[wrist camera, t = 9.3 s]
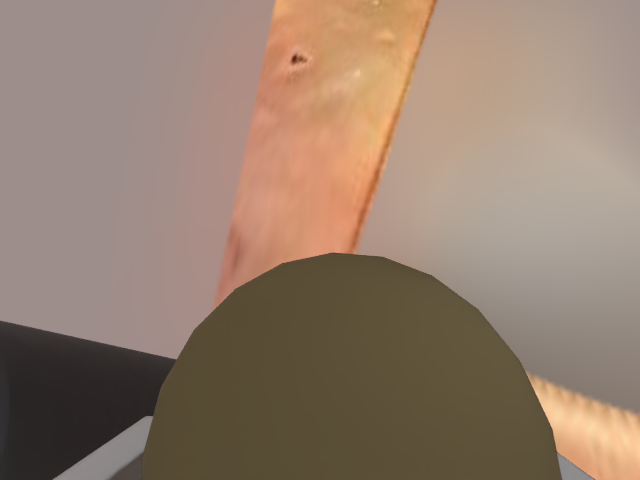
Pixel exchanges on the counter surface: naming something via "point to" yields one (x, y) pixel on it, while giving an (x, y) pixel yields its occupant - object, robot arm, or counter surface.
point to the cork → (348, 384)
